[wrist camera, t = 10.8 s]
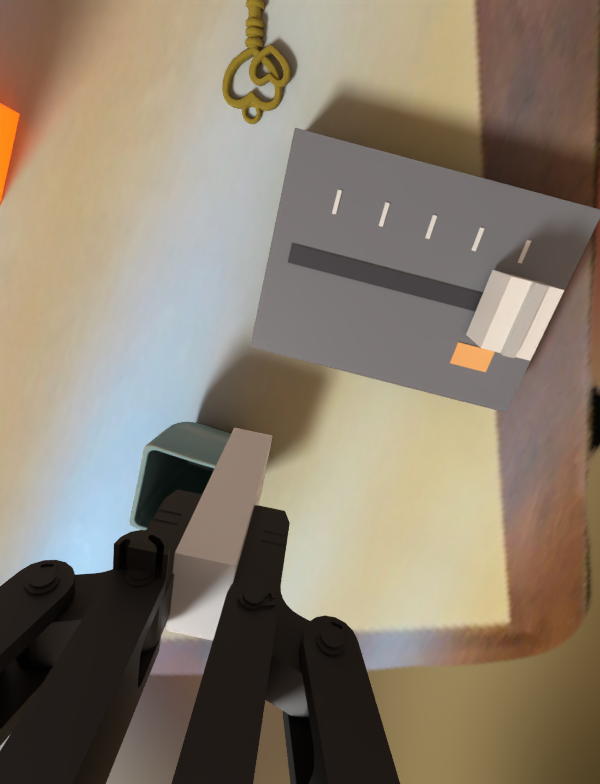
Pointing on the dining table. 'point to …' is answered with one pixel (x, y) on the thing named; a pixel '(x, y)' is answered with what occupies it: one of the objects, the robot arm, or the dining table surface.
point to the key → (253, 46)
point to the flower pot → (175, 467)
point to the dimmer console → (404, 266)
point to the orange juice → (6, 140)
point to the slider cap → (513, 315)
